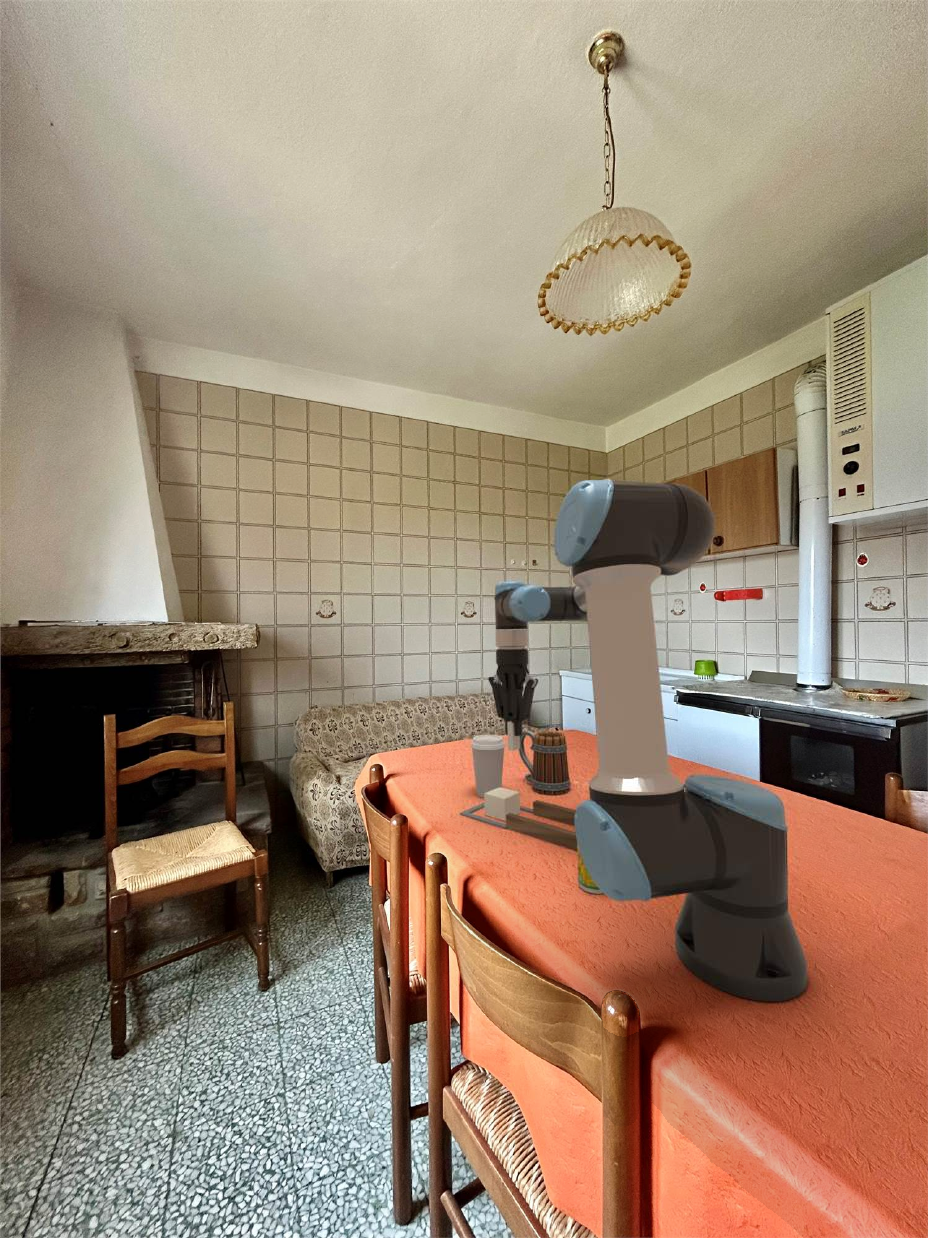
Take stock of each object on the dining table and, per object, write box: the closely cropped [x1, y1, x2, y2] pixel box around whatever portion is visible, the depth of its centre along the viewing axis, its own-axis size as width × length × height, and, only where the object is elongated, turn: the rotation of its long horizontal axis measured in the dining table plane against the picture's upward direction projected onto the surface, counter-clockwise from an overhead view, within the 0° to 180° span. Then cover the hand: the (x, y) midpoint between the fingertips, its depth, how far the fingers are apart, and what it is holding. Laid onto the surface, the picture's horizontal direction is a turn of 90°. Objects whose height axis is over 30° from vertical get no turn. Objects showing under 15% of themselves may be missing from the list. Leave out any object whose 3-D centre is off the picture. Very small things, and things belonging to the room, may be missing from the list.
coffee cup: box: [469, 734, 507, 799], centre depth 131 cm, size 10×10×15 cm
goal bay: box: [459, 802, 533, 830], centre depth 118 cm, size 13×14×1 cm
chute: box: [505, 799, 578, 852], centre depth 106 cm, size 12×22×3 cm, turn 48°
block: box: [483, 787, 521, 822], centre depth 117 cm, size 6×6×5 cm
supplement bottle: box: [577, 847, 604, 895], centre depth 84 cm, size 5×5×10 cm
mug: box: [518, 730, 571, 796], centre depth 136 cm, size 16×11×15 cm
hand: (513, 749), depth 115 cm, fingers closed
